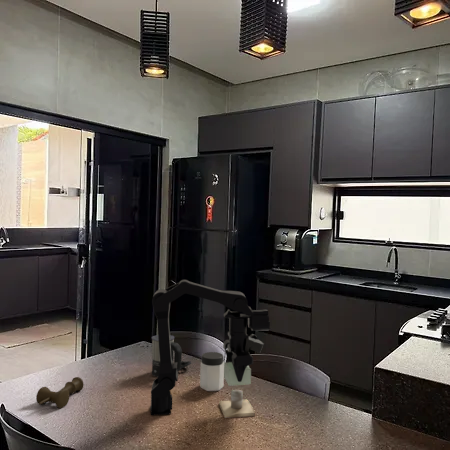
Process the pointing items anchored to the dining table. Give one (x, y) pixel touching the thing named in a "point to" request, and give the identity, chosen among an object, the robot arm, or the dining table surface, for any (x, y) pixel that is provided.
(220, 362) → the jar
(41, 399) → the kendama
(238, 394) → the knob on square plate
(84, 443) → the dining table surface
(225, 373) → the sleeve
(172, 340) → the milk frother
